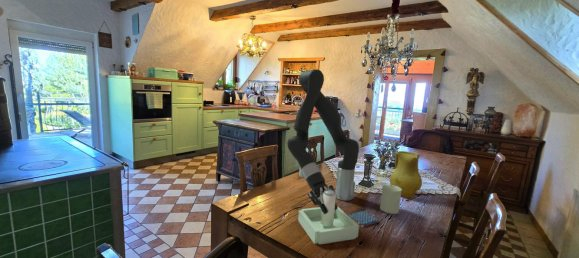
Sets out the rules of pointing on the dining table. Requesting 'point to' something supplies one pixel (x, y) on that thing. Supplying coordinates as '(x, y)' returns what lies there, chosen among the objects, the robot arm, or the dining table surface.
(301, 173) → the mug
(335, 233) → the sage bin
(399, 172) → the pitcher
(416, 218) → the dining table surface
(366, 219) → the woven mat
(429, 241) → the dining table surface
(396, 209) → the can
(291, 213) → the dining table surface
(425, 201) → the dining table surface
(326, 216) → the salt shaker
